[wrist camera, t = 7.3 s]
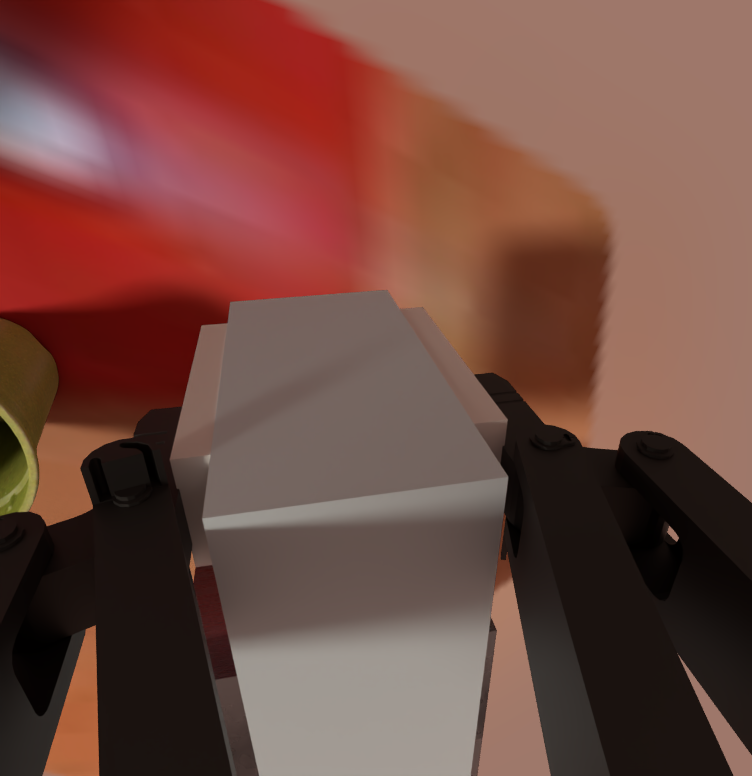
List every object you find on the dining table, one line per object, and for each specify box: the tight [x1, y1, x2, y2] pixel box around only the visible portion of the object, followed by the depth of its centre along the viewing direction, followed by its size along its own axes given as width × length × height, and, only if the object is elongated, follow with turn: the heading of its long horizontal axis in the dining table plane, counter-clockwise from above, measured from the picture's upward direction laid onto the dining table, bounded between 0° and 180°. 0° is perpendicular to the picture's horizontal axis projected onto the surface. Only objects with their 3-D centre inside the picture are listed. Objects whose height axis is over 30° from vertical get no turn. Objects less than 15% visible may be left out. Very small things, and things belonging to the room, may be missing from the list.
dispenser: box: [193, 565, 497, 776], centre depth 32 cm, size 14×13×14 cm
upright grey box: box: [202, 290, 508, 776], centre depth 16 cm, size 10×5×10 cm, turn 1°
